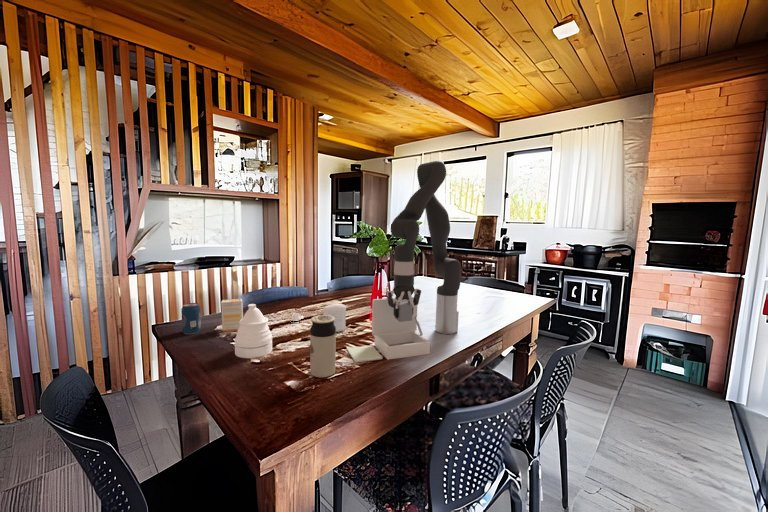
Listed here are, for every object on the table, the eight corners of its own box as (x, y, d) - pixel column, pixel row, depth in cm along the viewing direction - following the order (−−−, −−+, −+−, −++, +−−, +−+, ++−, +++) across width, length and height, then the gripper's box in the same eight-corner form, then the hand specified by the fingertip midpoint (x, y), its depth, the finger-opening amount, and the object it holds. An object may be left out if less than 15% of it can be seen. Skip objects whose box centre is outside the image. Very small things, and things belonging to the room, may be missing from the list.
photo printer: (342, 328, 150) (343, 301, 149) (347, 330, 147) (347, 303, 146) (321, 331, 145) (321, 304, 143) (325, 334, 141) (325, 306, 140)
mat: (371, 346, 129) (371, 345, 129) (382, 358, 118) (382, 357, 118) (346, 349, 125) (346, 348, 125) (355, 362, 114) (355, 360, 114)
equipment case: (415, 340, 137) (416, 296, 135) (432, 353, 124) (434, 305, 122) (371, 345, 131) (372, 299, 129) (384, 359, 117) (386, 309, 115)
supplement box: (243, 326, 149) (242, 298, 147) (242, 330, 144) (241, 300, 143) (223, 328, 146) (222, 299, 145) (221, 331, 141) (220, 302, 140)
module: (406, 316, 129) (406, 301, 128) (412, 320, 124) (412, 304, 123) (394, 318, 127) (395, 302, 126) (400, 321, 122) (400, 306, 122)
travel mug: (335, 366, 111) (335, 314, 109) (335, 377, 103) (336, 321, 101) (310, 367, 110) (310, 314, 108) (309, 379, 102) (309, 322, 100)
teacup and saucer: (300, 318, 165) (300, 310, 165) (308, 322, 159) (308, 313, 159) (284, 321, 159) (284, 313, 159) (292, 325, 153) (291, 317, 153)
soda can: (180, 331, 141) (179, 304, 139) (199, 328, 145) (198, 301, 144) (184, 336, 135) (182, 307, 134) (202, 332, 140) (201, 304, 139)
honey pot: (269, 357, 117) (268, 307, 115) (230, 359, 115) (229, 308, 113) (274, 343, 129) (274, 299, 128) (240, 345, 127) (239, 299, 125)
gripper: (416, 270, 130) (415, 312, 131) (382, 272, 124) (382, 316, 126) (425, 273, 123) (424, 317, 125) (390, 275, 117) (389, 321, 119)
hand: (403, 316), depth 125 cm, fingers closed on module, 5 cm apart
